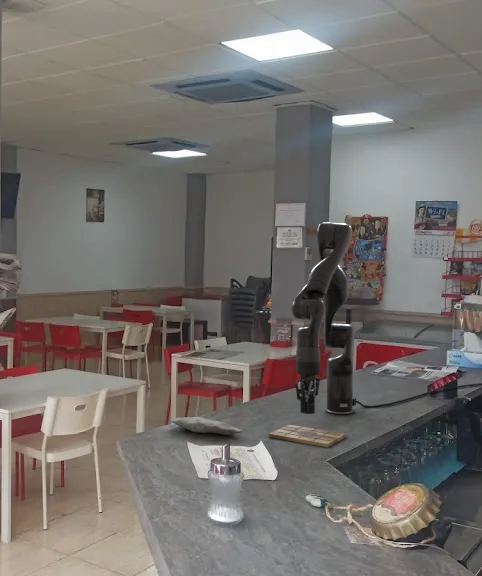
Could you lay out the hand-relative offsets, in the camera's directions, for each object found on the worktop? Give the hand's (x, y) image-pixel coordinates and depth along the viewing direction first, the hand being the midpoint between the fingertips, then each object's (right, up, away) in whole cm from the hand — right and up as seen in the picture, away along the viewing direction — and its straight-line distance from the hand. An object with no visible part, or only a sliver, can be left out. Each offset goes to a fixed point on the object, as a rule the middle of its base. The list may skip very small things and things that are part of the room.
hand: (307, 410), depth 234 cm
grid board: (0, -9, +1) cm, 9 cm away
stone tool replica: (-32, -9, +7) cm, 34 cm away
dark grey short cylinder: (0, -1, 0) cm, 1 cm away
